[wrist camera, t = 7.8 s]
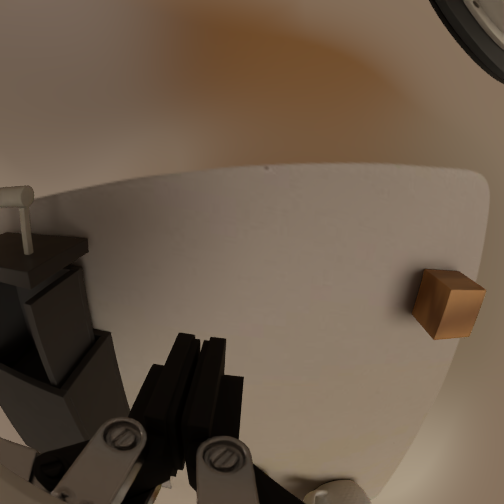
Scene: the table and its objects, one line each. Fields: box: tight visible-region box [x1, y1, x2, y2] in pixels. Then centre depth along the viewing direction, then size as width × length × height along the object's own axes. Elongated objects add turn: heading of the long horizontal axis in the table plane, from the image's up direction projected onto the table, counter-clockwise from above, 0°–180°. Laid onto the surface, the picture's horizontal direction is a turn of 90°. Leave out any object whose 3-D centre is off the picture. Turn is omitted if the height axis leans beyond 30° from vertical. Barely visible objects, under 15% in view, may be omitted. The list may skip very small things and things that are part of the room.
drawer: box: [0, 186, 96, 389], centre depth 19 cm, size 18×11×8 cm, turn 176°
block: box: [412, 269, 486, 340], centre depth 20 cm, size 4×4×4 cm
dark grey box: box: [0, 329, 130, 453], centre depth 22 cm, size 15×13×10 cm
